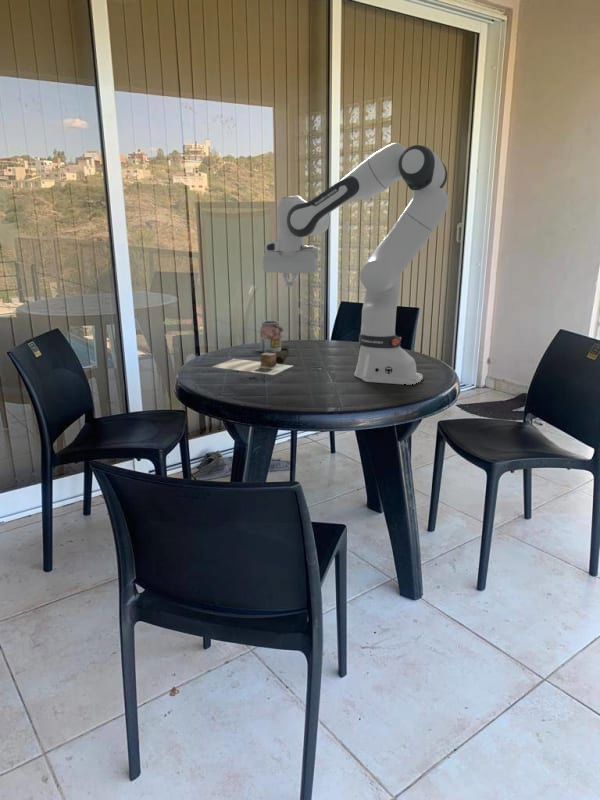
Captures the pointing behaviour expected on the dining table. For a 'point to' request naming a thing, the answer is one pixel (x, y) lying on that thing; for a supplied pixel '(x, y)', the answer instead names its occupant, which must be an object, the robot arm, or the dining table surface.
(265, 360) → the walnut cube
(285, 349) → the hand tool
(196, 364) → the dining table surface
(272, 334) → the beverage can
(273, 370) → the birch board
